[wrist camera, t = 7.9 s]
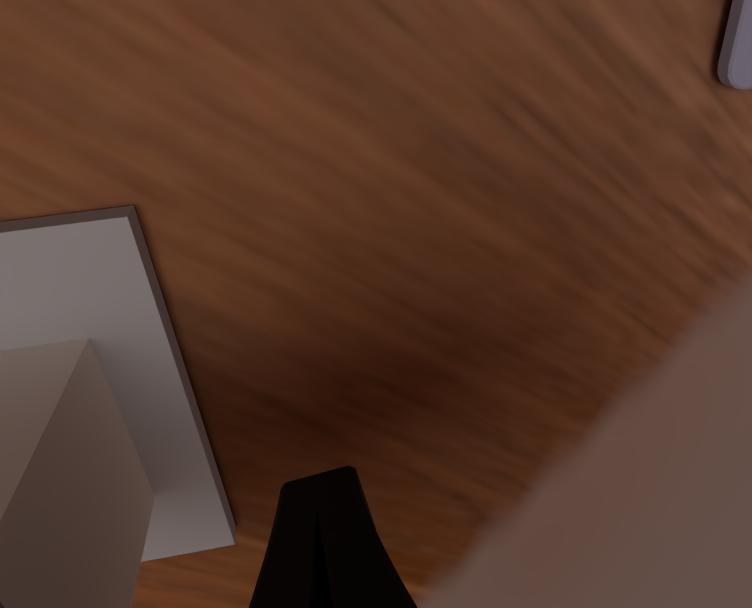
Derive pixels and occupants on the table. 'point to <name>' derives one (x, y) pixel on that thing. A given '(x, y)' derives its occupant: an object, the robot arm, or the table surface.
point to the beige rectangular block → (67, 483)
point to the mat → (120, 356)
